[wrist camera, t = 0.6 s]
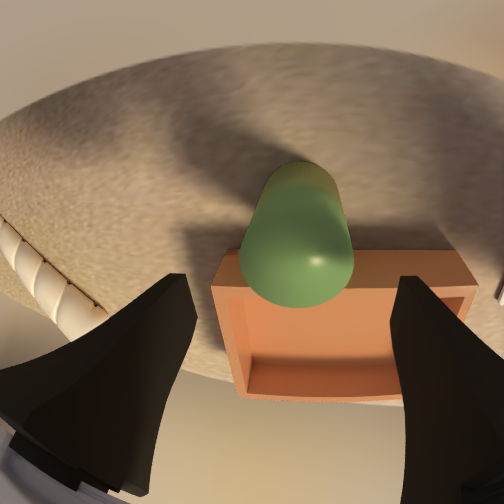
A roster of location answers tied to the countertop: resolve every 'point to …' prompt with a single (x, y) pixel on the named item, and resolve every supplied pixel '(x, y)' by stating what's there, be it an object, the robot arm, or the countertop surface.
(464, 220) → the countertop surface
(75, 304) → the unicorn horn
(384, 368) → the terracotta bin
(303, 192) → the cucumber piece
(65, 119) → the countertop surface
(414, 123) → the countertop surface
